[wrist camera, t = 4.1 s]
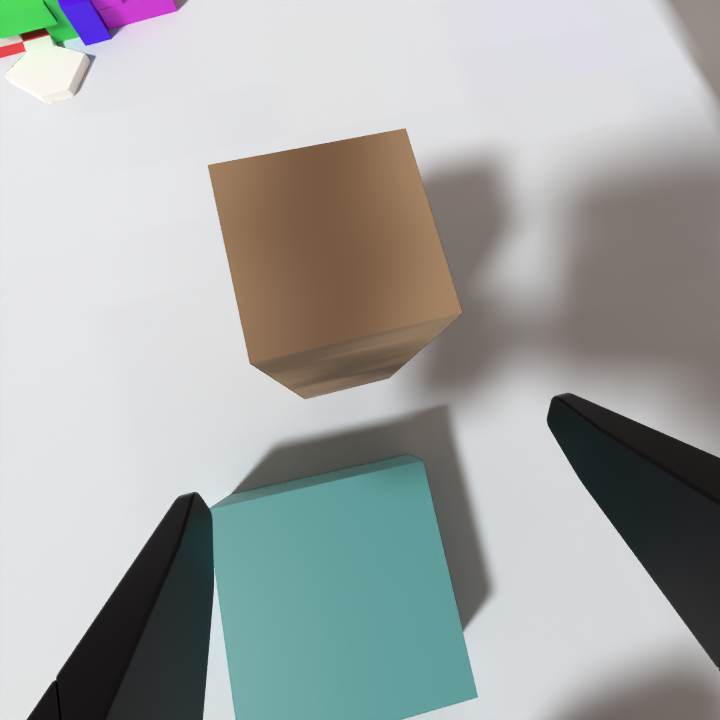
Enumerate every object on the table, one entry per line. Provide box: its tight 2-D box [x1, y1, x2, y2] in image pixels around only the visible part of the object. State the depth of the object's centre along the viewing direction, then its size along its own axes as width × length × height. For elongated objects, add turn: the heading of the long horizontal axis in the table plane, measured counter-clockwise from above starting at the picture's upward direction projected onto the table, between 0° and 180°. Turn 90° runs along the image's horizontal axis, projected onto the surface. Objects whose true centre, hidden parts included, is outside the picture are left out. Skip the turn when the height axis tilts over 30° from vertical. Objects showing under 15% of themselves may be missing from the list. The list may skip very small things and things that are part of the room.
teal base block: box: [209, 454, 478, 720], centre depth 18 cm, size 10×10×4 cm
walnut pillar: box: [208, 128, 462, 399], centre depth 15 cm, size 5×5×13 cm
